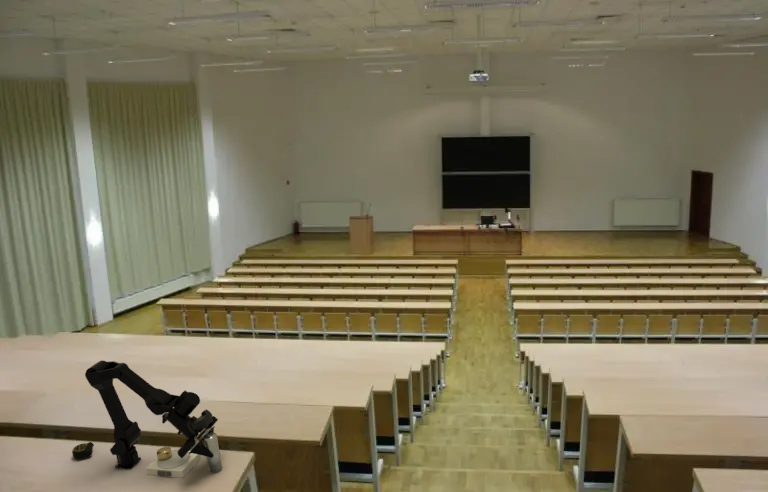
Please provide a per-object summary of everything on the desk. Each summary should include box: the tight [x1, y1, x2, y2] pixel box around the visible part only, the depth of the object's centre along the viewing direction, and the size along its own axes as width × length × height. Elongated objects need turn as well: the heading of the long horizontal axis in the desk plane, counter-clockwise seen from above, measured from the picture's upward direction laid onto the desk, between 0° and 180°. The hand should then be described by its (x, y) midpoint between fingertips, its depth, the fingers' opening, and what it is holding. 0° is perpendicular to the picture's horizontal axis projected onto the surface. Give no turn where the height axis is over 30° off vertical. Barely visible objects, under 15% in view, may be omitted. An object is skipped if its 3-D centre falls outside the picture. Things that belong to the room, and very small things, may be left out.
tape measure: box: [71, 441, 95, 460], centre depth 221 cm, size 7×7×4 cm
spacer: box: [202, 432, 223, 474], centre depth 205 cm, size 4×4×13 cm
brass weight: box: [156, 446, 172, 461], centre depth 210 cm, size 5×5×2 cm
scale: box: [146, 448, 203, 479], centre depth 210 cm, size 14×13×3 cm
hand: (216, 452), depth 204 cm, fingers closed on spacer, 4 cm apart
